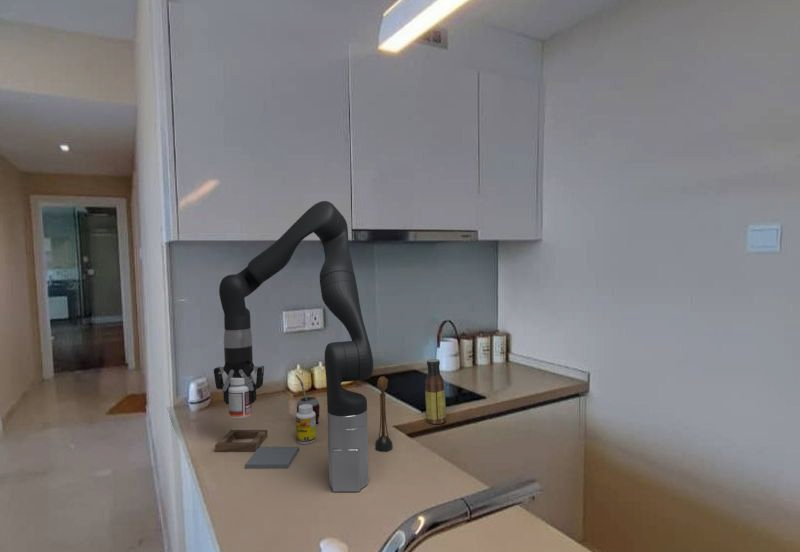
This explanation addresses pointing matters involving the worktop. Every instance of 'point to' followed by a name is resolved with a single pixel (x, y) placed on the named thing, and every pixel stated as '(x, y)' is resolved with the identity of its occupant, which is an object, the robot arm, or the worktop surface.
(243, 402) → the pill bottle
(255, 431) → the socket block
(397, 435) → the worktop surface
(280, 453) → the mat
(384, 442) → the wooden tabletop sculpture
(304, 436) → the supplement bottle
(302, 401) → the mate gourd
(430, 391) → the sauce bottle
